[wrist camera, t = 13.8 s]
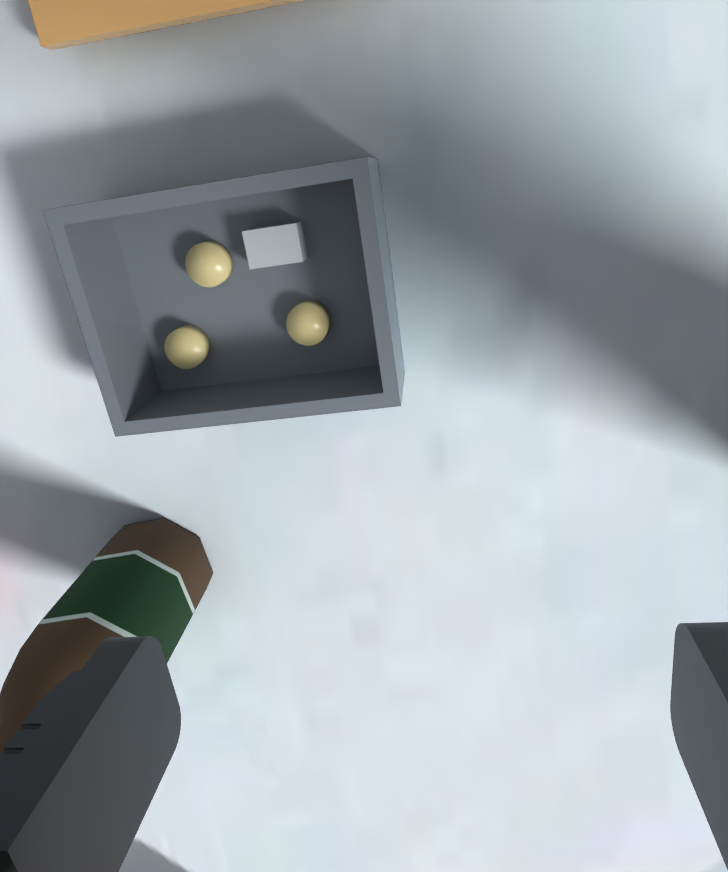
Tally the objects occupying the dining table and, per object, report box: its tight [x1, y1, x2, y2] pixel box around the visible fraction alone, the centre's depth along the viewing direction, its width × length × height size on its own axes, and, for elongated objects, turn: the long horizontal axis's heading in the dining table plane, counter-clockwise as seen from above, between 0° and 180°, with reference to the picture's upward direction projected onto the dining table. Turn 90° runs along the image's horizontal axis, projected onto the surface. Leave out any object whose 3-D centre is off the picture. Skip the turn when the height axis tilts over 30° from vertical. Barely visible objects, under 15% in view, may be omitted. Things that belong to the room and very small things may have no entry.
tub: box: [43, 157, 405, 437], centre depth 35 cm, size 16×12×6 cm
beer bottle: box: [0, 518, 213, 754], centre depth 35 cm, size 8×8×24 cm
